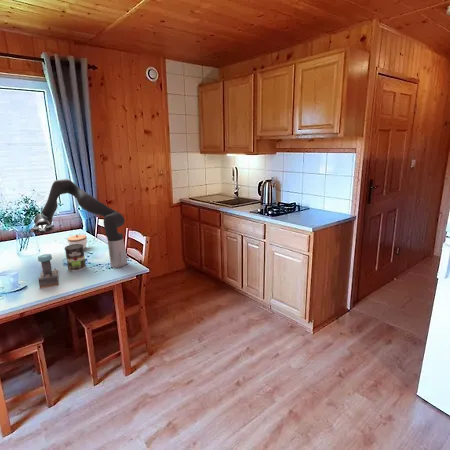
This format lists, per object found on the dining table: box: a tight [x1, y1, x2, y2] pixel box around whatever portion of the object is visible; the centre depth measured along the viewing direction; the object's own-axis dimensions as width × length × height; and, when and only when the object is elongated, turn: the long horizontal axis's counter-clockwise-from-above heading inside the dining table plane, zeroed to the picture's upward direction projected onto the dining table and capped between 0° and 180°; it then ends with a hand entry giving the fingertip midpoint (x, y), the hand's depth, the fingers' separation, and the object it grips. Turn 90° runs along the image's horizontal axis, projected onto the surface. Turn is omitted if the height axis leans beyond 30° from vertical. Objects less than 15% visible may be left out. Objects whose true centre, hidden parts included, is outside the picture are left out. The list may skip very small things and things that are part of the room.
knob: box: [37, 253, 53, 277], centre depth 177 cm, size 7×7×14 cm
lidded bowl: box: [67, 234, 88, 249], centre depth 231 cm, size 13×13×11 cm
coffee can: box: [64, 244, 87, 272], centre depth 197 cm, size 10×10×14 cm
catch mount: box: [38, 268, 59, 289], centre depth 182 cm, size 20×9×6 cm, turn 27°
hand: (42, 232), depth 186 cm, fingers closed
